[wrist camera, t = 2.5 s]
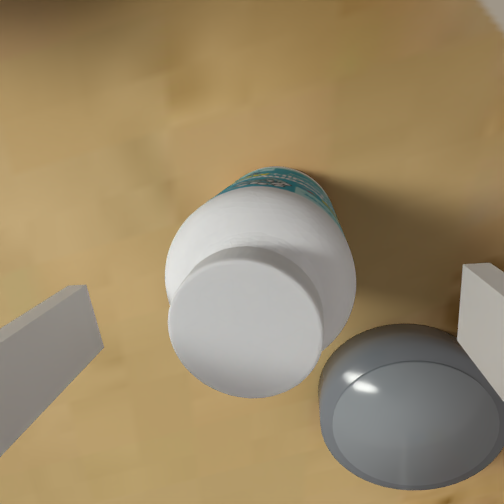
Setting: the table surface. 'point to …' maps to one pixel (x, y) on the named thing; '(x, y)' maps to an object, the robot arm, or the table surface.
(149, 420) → the table surface
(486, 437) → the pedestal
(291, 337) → the pill bottle
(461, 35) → the table surface
